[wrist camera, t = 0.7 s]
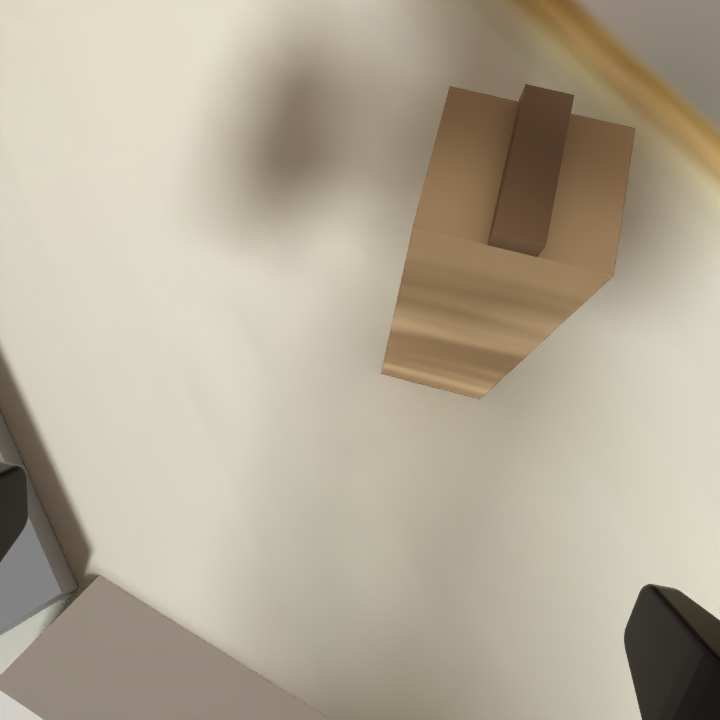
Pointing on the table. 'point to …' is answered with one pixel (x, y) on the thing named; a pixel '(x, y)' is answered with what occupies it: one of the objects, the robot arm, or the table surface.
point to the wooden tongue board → (505, 236)
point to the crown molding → (134, 670)
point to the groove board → (30, 557)
